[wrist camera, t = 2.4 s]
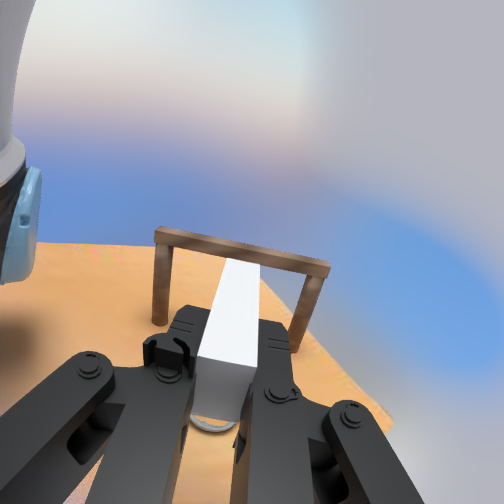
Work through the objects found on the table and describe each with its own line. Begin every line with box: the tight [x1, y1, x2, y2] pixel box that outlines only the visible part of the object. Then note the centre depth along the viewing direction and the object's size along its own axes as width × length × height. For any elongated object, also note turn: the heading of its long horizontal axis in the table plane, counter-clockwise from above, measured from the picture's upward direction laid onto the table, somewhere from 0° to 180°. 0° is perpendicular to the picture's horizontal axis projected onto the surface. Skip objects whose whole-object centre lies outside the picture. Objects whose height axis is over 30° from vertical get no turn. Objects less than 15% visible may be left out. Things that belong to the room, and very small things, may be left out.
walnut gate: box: [152, 226, 331, 353], centre depth 36 cm, size 22×2×14 cm, turn 88°
